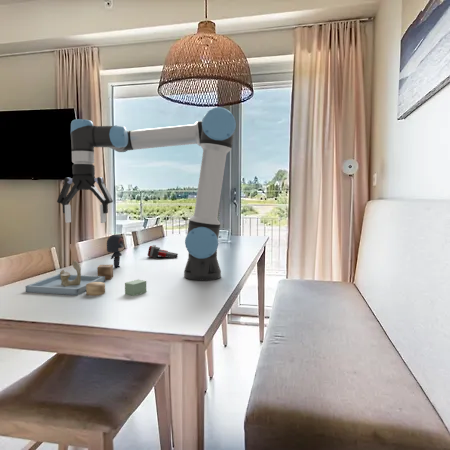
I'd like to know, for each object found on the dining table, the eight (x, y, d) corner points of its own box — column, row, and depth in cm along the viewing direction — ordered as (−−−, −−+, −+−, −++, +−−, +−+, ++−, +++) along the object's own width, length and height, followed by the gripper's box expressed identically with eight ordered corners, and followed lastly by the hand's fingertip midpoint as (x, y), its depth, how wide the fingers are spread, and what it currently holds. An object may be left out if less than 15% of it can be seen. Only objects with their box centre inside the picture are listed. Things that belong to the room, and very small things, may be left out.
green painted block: (146, 292, 127) (146, 281, 127) (133, 296, 122) (133, 284, 122) (138, 290, 129) (138, 279, 129) (125, 294, 124) (124, 282, 124)
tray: (104, 281, 140) (104, 276, 140) (77, 295, 122) (77, 289, 122) (59, 279, 143) (58, 273, 143) (25, 291, 125) (25, 286, 124)
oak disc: (93, 289, 128) (92, 281, 128) (108, 291, 127) (108, 283, 126) (82, 294, 122) (82, 286, 122) (98, 296, 121) (98, 288, 120)
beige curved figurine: (48, 282, 129) (59, 256, 133) (59, 287, 135) (69, 262, 139) (68, 286, 127) (79, 259, 131) (78, 291, 133) (89, 265, 137)
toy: (118, 269, 161) (118, 236, 160) (102, 268, 163) (102, 235, 162) (128, 266, 170) (128, 233, 169) (112, 265, 172) (112, 233, 171)
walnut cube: (113, 276, 149) (112, 264, 149) (110, 279, 144) (110, 267, 144) (100, 276, 148) (100, 264, 148) (97, 279, 143) (97, 267, 143)
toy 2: (176, 260, 199) (149, 255, 198) (178, 249, 199) (151, 244, 198) (175, 264, 190) (146, 258, 190) (177, 252, 190) (148, 246, 189)
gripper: (120, 164, 135) (122, 221, 137) (57, 165, 138) (59, 221, 140) (111, 162, 128) (113, 223, 129) (45, 163, 131) (47, 223, 133)
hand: (85, 222), depth 135 cm, fingers open, 13 cm apart
